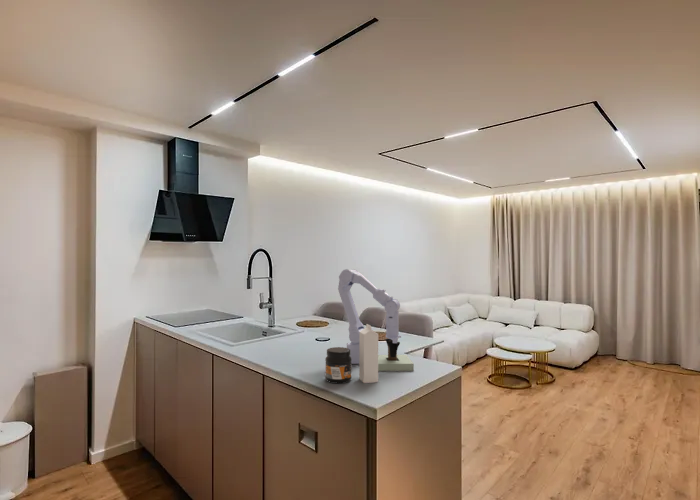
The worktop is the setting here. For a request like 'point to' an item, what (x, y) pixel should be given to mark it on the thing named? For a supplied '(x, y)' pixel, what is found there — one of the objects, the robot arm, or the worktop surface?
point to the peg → (390, 356)
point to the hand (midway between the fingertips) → (392, 355)
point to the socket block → (395, 363)
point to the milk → (368, 355)
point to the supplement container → (338, 365)
